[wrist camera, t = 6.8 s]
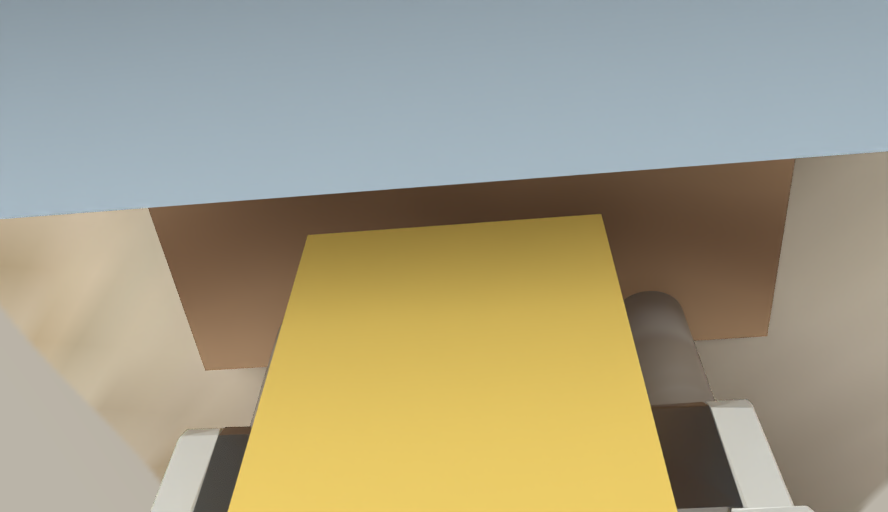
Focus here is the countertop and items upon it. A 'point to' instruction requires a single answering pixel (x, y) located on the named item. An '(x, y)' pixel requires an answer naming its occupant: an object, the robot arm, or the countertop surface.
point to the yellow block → (456, 378)
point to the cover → (416, 93)
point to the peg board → (610, 194)
